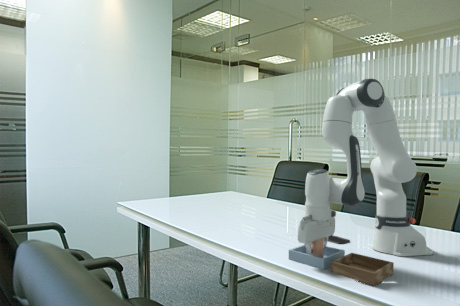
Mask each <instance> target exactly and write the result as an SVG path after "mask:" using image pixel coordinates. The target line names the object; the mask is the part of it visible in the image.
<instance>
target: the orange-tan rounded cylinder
mask: <svg viewBox="0 0 460 306" xmlns="http://www.w3.org/2000/svg"><path fill="white" fill-rule="evenodd" d="M311 248H312V249H313V253H312V254H310V255H313V256H317V257H320V258H324V238H321V239H319V240H316V241H314V242H312V245H311Z"/></svg>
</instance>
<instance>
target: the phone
mask: <svg viewBox="0 0 460 306" xmlns="http://www.w3.org/2000/svg"><path fill="white" fill-rule="evenodd" d="M327 242H328V243H333V244H336V245H344V244H349V243H350V242H351V239H348V238H344V237H340V236H338V235H337V236H336V235H334V234H333V235H331V236H328V241H327Z"/></svg>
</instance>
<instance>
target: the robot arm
mask: <svg viewBox="0 0 460 306" xmlns="http://www.w3.org/2000/svg"><path fill="white" fill-rule="evenodd" d="M358 111H362V112H363V114H364V115H365V122H366V126H367V130H368V135H369V140H370V143H371V146H372V147H373V148H374V150H375V151H376V154H377V156H376V157H374V158H373V159H372V160H371V162H370V165H369V167H370V172H371V174H372V176H373V183H374V188H375V193H376V214H375V215H374V216H375V218H374V227H375V232H374V238H373V242H372V245H371V248H372V249H373V250H375V251H377V252H380V253H384V254H389V255H394V256H397V257H413V256H415V257H416V256H431V255H434V250H433V249H431V248H430V247H428V246H427V240H426V238H425V236H424V235H423V234H422V233H420V232H419V231H418V230H417V229H416V228H414V227H413V225H414V224H415V222H416V219H415V218H413V217H409V216H407V196H406V193H405V191H404V189H403V186H402V183H408V182H410V181H412V180H413V179H414V178H415V177H416V176H417V172H418V167H417V165H416V163H415V161H413V160H412V157H410V155H409V153H408V151H407V149H406V147H405V144H404V143H403V141H402V138H401V137H402V136H401V135H400V131H399V127H398V122H397V118H396V114H395V110H394V109H393V106H392V103H391V101H390V99H389V98H388V96H386V93H385V91H384V87H383V85H382V84H381V82H380V81H379V80H377V79H375V78H364V79H362V80H359V81H356V82H353V83H351V84H349V85H347V86H345V87H342V88H341V89H339V90H338V91H337V92H336V94H335V95H333V96H331V97H329V98H328V99H327V101H326V104H325V108H324V111H323V117H322V124H321V136H322V138H323V140H324V141H325V142H326V143H327V144H328V145H330V146H332V147H334V148H337V149H339V150H341V151H342V152H343V153H344V155H345V157H346V170H347V171H346V172H347V177H346V178H339V177H335V176H334V177H333V176H331V175H330V174H329V171H328V170H326V169H323V168H318V169H311V170H309V171H308V172H307V174H306V177H305V184H304V186H305V187H304V195H305V203H304V216H303V217H302V218H301V220H300V221H299V224H298V229H297V230H298V231H297V241H298V243H300V244H302V245H305V247H306V253H307V254H312V253H313V249H312V248H311V245H312V242H314V241H316V240H319V239H321V238H324V249H325V248H326V246H328V245H327V244H328V242H329V241H328V236H331V235H333V236H334V234H335V232H336V216H337V211H336V210H334V209H331V208H330V203H331V204H337V205H343V206H347V207H351V208H355V207H357V206H358V205H359V204H361V203H362V202H363V201H364V200H365V197H366V189H365V185H364V180H363V170H362V158H361V157H362V156H361V155H362V154H361V148H360V147H361V146H360V141H359V139H358V138H357V137H356V135H354V133H353V128H352V127H353V125H352V123H353V114H354V112H358ZM411 224H413V225H412V226H411Z"/></svg>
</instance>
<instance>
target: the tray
mask: <svg viewBox="0 0 460 306" xmlns="http://www.w3.org/2000/svg"><path fill="white" fill-rule="evenodd" d="M394 264H395V262H393V261H389V260H384V259H381V258H376V257H372V256H367V255H363V254H359V253H355V252H350V253H347V254H345V256H343V257H341V258H339V259H337V260H334V261H332V262H331V266H330V273H333V274H336V275H340V276H343V277H346V278H349V279H353V280H355V281H358V282H357V283H360V282H361V284H364V283H365V285H367V284H369V285H368V286H370V285H372V286H371V287H374V286H375V287H377V286H378V285H380V284H381V283H383V282H382V281H384V280H385V279H386V278H388V277H392V276H394V268H395V267H394ZM379 283H380V284H379ZM376 285H377V286H376Z"/></svg>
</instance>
